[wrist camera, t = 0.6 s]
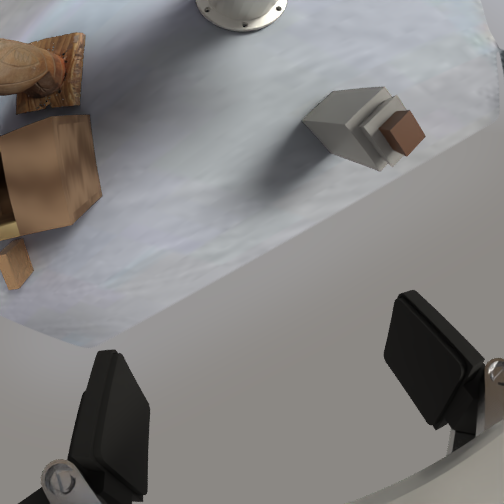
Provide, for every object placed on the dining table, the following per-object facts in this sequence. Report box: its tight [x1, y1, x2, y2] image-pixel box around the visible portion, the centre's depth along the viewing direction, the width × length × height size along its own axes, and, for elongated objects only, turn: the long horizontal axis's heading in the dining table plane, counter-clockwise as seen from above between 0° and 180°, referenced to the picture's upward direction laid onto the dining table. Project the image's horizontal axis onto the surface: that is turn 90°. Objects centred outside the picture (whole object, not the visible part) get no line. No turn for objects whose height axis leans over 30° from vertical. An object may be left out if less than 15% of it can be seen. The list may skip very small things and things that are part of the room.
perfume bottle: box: [302, 87, 426, 171], centre depth 32 cm, size 7×7×18 cm
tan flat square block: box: [0, 239, 34, 290], centre depth 37 cm, size 6×2×6 cm, turn 4°
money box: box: [0, 115, 102, 241], centre depth 29 cm, size 12×20×12 cm, turn 94°
